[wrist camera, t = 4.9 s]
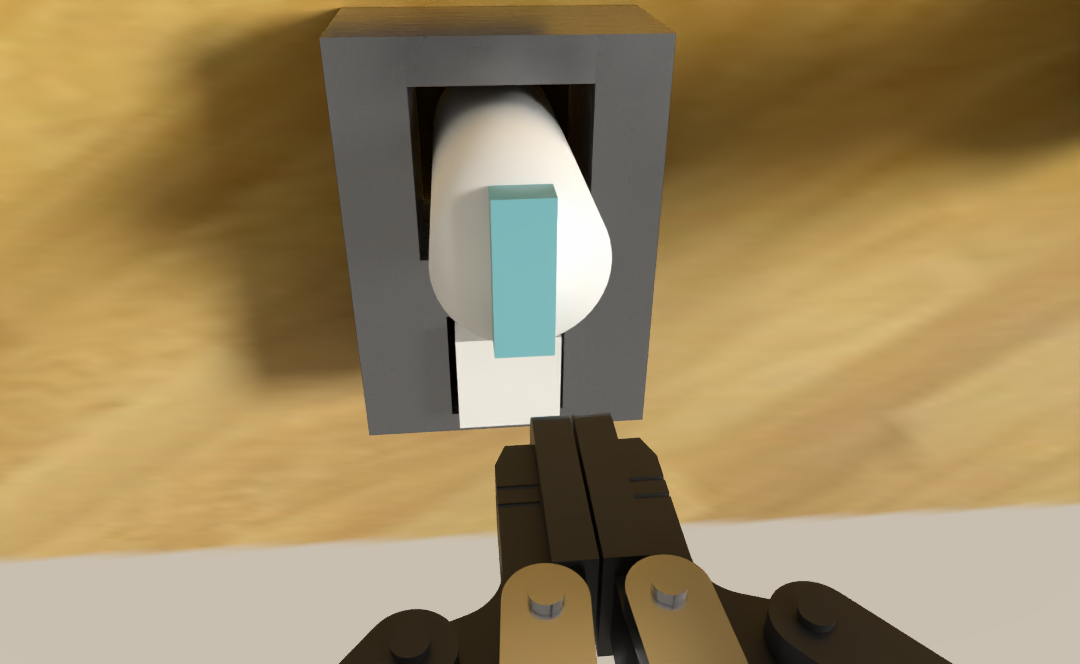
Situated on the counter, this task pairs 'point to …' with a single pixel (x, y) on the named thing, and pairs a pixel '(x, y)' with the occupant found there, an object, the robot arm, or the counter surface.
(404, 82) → the housing
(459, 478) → the counter surface
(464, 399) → the off-white cube
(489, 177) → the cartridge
